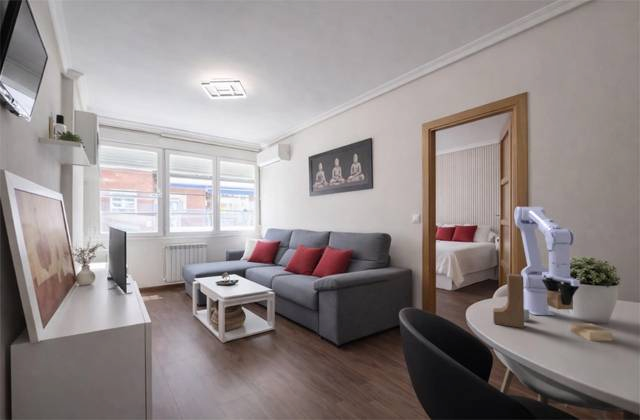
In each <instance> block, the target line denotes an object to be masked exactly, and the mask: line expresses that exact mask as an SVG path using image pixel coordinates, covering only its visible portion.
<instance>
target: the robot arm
mask: <svg viewBox="0 0 640 420" xmlns="http://www.w3.org/2000/svg"><path fill="white" fill-rule="evenodd" d="M513 217H514V223H515V227H516V228H518V229H519V230H520V234H521V238H522V244H523V248H524V249H523V250H524V254H525V259H526V260H525V261H526V265H527V266H525V267H524V268H523V269H522V270H521V271H520V275H522V276H523V283H524V308H525V309H528V310H529V314H531V315H535V316H555V313H553V312H551V311H550V310H549V309H550V306H549V305H547V291H560V293H561V300H562V304H563V305H570V304H571V301H572V298H573V299H574V296H575V293H576V292H577V291H578V290H579V288H580V287H581V280H579V279H576V278H574V277H572V276H571V246H572V245H573V243H574V241H575V237H574V233H573V231H572V230H571V229H570V228H563V227H561V226H560V225H559V224H558V222H556V221H555V220H554V219H553V218H548V217H547V216H546V210H545V208H544V207H543V206H516V207H515V208H514V212H513ZM536 229H538V230H539V231H540V232H541V233H542V234H543V235H544V240H545V243H546V249H547V250H548V268H546V267H545V266H544V265H543V264H542V258H541V256H540V255H541V254H540V249H539V244H538V241H537V235H536Z"/></svg>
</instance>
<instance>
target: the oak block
mask: <svg viewBox="0 0 640 420" xmlns="http://www.w3.org/2000/svg"><path fill="white" fill-rule="evenodd" d="M570 332H571V333H573V334H575V335H577V336H579V337H582V338H584V339H585V340H588V341H594V342H595V341H601V342H603V341H604V342H605V341H606V342H607V341H613V332H612V331H610V330H607V329H606V328H604V327H600V326H598V325H595V324H593V323H570Z"/></svg>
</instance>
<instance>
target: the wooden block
mask: <svg viewBox="0 0 640 420" xmlns="http://www.w3.org/2000/svg"><path fill="white" fill-rule="evenodd" d="M506 277H507V279H506V284H507V285H506V287H507V288H506V290H507V292H506V293H507V295H506V297H507V298H506V299H507V302H506V304H505V305H503V307H501V308H500V307H499V308H498V307H497V308H496V307H495V308H493V309H492V310H493V311H492V312H493V315H492V317H493V324H494V325H501V326H505V327H506V326H507V327H513V328H519V329H524V328H525V321H524V283H523V276H522V275H521V273H520V274H518V273H507V274H506Z"/></svg>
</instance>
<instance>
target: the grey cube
mask: <svg viewBox="0 0 640 420" xmlns="http://www.w3.org/2000/svg"><path fill="white" fill-rule="evenodd" d="M525 321H530V313H529V310H528V309H525V308H524V322H525Z"/></svg>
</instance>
